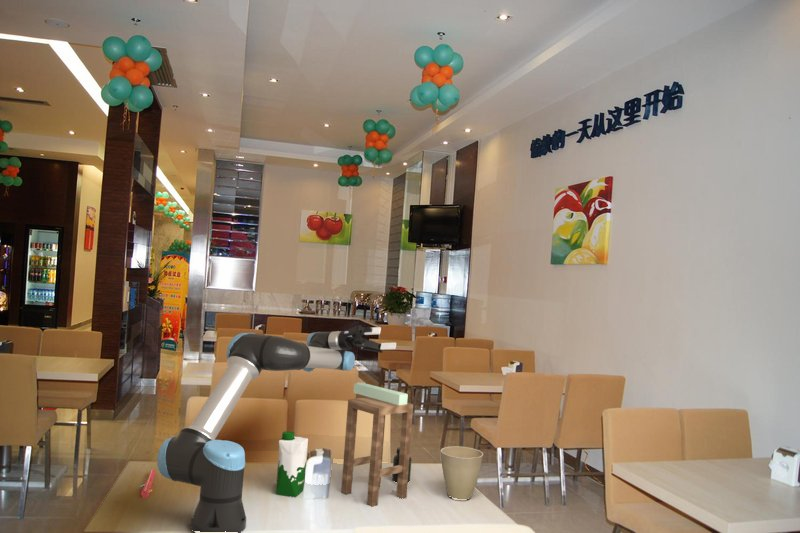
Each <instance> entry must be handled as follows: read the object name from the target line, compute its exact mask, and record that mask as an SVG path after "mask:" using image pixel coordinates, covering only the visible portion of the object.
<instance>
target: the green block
mask: <svg viewBox="0 0 800 533" xmlns="http://www.w3.org/2000/svg"><path fill="white" fill-rule="evenodd" d="M353 384H354V385H353V394H357V395H360V396H363V397H366V398H367V397H371V398H374V399H378V400H382V401H385V402H389V403H393V404H396V405H404V404H407V403H408V400H409V399H408V398H409V396H408V393H406V392H401V391H397V390H394V389H393V390H392V389H390V388H386V387H381V386H377V385H373V384H368V383H365V382H356V383H353Z"/></svg>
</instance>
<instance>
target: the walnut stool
mask: <svg viewBox="0 0 800 533" xmlns="http://www.w3.org/2000/svg"><path fill="white" fill-rule="evenodd" d="M358 411H361V412H364V413H368V414H370V415H373V416H372V417H373V420H372V428H371V429H372V431H371V444H370V455H368V456H362V457H357V458H355V448H356V435H357V424H358V423H357V422H358ZM413 411H414V404H413V403H410V402H407V404H404V405H396V404H393V403H389V402H385V401H382V400H378V399H374V398H371V397H367V396H366V397H359V398H348V400H347V409H346V412H347V413H346V426H345V434H344V435H345V437H344V440H345V441H344V447H343V448H344V451H343V463H342V464H343V466H342V477H341V479H342V480H341V491H340V493H341V494H343V495H350V494H352V490H353V478H354V477H353V476H354V467H357V466H362V465H367V464H369V470H368V482H367V483H368V485H367V499H366V505H367V506H369V507H371V508H372V507H375V506H378V504H379V491H380V490H379V488H380V487H381V482H382V477H386V476H391V475H392V474H396V473H398V481H397V483H396V496H397V497H396V498H398V497H399V498H398V499H400V498H401V500H403V499H406V498H405V497H407V496H408V495H407V494H408V484H409V483H408V471H409V457H411V454H410V453H411V439H412V427H413V426H412V424H413V414H414V413H413ZM395 414H402V416H401V426H400V428H401V429H400V439H399V441H400V442H399V447H400V453H399V465H397V466H393V465H392V466H388V467H384V468H382V466H383V454H384V453H383V452H384V439H385V425H386V416H389V415H395ZM379 486H380V487H379ZM402 498H403V499H402Z"/></svg>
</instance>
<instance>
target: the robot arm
mask: <svg viewBox="0 0 800 533" xmlns="http://www.w3.org/2000/svg"><path fill="white" fill-rule="evenodd" d="M381 331H382V327H381V326H378V327H377V326H376V327H365V326H362V325H361V324H358V325H355V326H353V327H350V328H347V329H345V330H342V331H341V330H340V331H339V330H337V331H336V330H335V331H317V332H311V333H309V334H308V335H307V339H306V343H304V342H302V341H297V340H293V339H291V338H290V339H289V338H286V337H282V336H278V335H271V334H270V335H269V334H268V335H267V334H260V333H259V334H258V333H255V332H240V333H238V334H237V335H235V336H234V337H233V338H232V339H231V340H230V341H229V343H228V345H227V351H226V365H227V368H226V369H225V371H224V373H223V374H222V375H221V377H220V378H219V381H218V382H217V383H216V385H215V387H214V388H213V390H212V391H211V392H210V395H209V396H208V398H206V400H205V403H203V405H202V407H201V408H200V410H199V411H198V413H197V415H196V416H195V418H194V419H193V421H192V422H191V424H190V426H185V427H183V428H182V429H181V430H180V431H179V433H178V435H177V436H171V437H169V438H166V439H165V440H164V441H163V442H162V444H161V445H160V448H159V450H158V452H157V459H156V460H157V462H156V463H157V464H156V466H157V469H158V471H159V474H160V475H161V476H163V477H164V478H166V479H169V480H171V481H173V482H180V483H185V484H188V485H194V486H197V487H200V490H199V492H200V493H199V499H198V503H197V505H196V507H195V510H194V513H193V515H192V517H191V522H190V530H191V531H192V530H193V531H200V532H225V531H226V532H240V531H242V532H243V531H244V530H245V529H246V527H247V516H246V511H245V507H244V503H243V487H244V476H245V467H246V453H245V452H246V451H245V450H244V448H243V446H242V445H240V444H239V443H237V442H234V441H230V440H222V439H216V438H217V436H218V435H219V433H220V432H221V430H222V428H223V426H224V425H225V423H226V422H227V420H228V418H229V416H230V415H231V414H232V412H233V410H234V409H235V407H236V405H237V404H238V402H239V400H240V399H241V397H242V395H243V393H244V392H245V391H246V388H247V387H248V385H249V383H251V380H256V379H257V378H258V377H259V376H260V373H261V372H262V371H271V372H283V371H285V372H286V371H301V370H302V371H304V372H309V373H310V372H312V371H314V370H315V369H322V370H323V369H325V370H326V369H327V370H337V371H347V372H350V371H351V370H352V369H353V368H354V366H355V364H356V356H355V354H354V352H352V351H349V350H351V349H352V348H354V347H358V350H360V351H369V352H373V353H374V352H375V353H380V354H381V353H383V351H387V350H388V351H391V350H396V348H397V342H381V343H379V342H375V341H371V340H368V339H367V338H365V337H364V338H363V336H364V335H365V336H369V335H370V336H372V335H373V336H374V335H381ZM240 533H241V532H240Z"/></svg>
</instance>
